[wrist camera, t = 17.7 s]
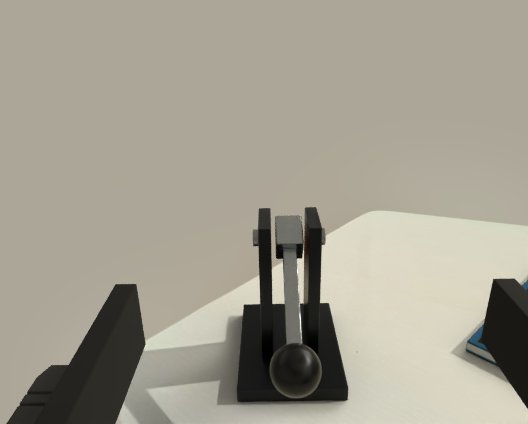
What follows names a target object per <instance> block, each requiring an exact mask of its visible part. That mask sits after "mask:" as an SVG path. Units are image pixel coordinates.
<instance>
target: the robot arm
mask: <svg viewBox="0 0 528 424" xmlns="http://www.w3.org/2000/svg"><path fill="white" fill-rule="evenodd" d="M481 341H482V343H483V344H484V346H485V347H486V349H487V350H488V351H489V353H490V354H491V356H492V357H493V359H494V360H495V362H496V363H497V365H498V366H499V368H500V369H501V370H502V372H503V373H504V375H505V376H506V378H507V379H508V381H509V382H510V384H511V385H512V387H513V388H514V389H515V391H516V392H517V394H518V395H519V397H520V398H521V400H522V401H523V403H524V404H525V406H526V407H527V408H528V292H527V291H526V290H525V289H524V288H523V287H522V286H521V285H520V284H519V283H518V282H517V281H516V280H515V279H493V283H492V288H491V293H490V298H489V302H488V307H487V312H486V317H485V321H484V326H483V331H482V335H481ZM144 347H145V338H144V331H143V325H142V318H141V312H140V305H139V299H138V292H137V286H136V284H116V285H115V287H114V288H113V290H112V292H111V293H110V295H109V297H108V299H107V300H106V302H105V304H104V305H103V307H102V309H101V310H100V312H99V314H98V316H97V317H96V319H95V321H94V322H93V324H92V326H91V328H90V329H89V331H88V333H87V335H86V336H85V338H84V340H83V341H82V343H81V345H80V346H79V348H78V350H77V352H76V353H75V355H74V357H73V358H72V360H71V362H70V364H69V365H51V366H50V367H49V368H48V369H46V370H45V371H44V372H43V373H42V374H41V375H39V376H38V377H37V378H36V380H35V381H34V383H33V384H32V386H31V387H30V389H29V390H28V392H27V395H25V396H24V398H23V399H22V401H21V403H20V406H19V407H17V409H16V410H15V412H14V413H13V415H12V416H11V418H10V419H9V421H8V422H7V424H115V423H116V421H117V418H118V415H119V413H120V410H121V408H122V405H123V402H124V400H125V397H126V394H127V392H128V389H129V386H130V384H131V381H132V378H133V376H134V373H135V371H136V368H137V365H138V363H139V360H140V357H141V355H142V352H143V349H144Z"/></svg>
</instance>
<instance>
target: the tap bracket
mask: <svg viewBox="0 0 528 424" xmlns="http://www.w3.org/2000/svg"><path fill="white" fill-rule="evenodd" d="M304 238H305V239H304V240H305V241H304V304H300V314H301V330H302V344H304V345H306V346H308V347H310V348H311V349H312V350H313V351H314V352H315V353H316V354H317V356H318V358H319V360H320V363H321V367H322V375H321V380H320V382H319V384H318V386H317V388H316V389H315V390H314V391H313V392H312V393H311V394H309V395H307V396H305V397H302V398H290V397H287V396H285V395H283V394H282V393H280V392H279V391H278V390H277V389H276V388H275V386H274V385H273V383H272V380H271V377H270V371H269V369H270V362H271V359H272V357H273V355H274V354H275V352H276V351H277V350H278V349H279V348H281V347H282V346H284V345H286V323H285V304H272V263H271V217H270V208H263V209H259V220H258V230H253V246H259V272H260V273H259V275H260V304H253V305H244V310H243V322H242V335H241V347H240V360H239V372H238V384H237V397H238V402H251V401H320V400H347V399H348V385H347V381H346V376H345V372H344V367H343V363H342V359H341V354H340V350H339V346H338V341H337V337H336V333H335V328H334V324H333V319H332V315H331V311H330V306H329V303H320V284H321V250H322V245H325V240H326V236H325V229H324V228H322V227H321V223H320V219H319V216H318V212H317V209H316V207H313V208H312V207H309V208H305V236H304Z"/></svg>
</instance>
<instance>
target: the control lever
mask: <svg viewBox="0 0 528 424" xmlns="http://www.w3.org/2000/svg"><path fill="white" fill-rule="evenodd" d="M275 234H276V235H275V236H276V258H277V259H283V273H284V298H285V323H286V345H284V346H282V347H281V348H279V349H278V350H277V351H276V352H275V354H274V355H273V357H272V359H271V362H270V369H269V371H270V377H271V380H272V383H273V385H274V386H275V388H276V389H277V390H278V391H279V392H280V393H282V394H283V395H285V396H287V397H290V398H302V397H305V396H307V395H309V394H311V393H312V392H313V391H314V390H315V389H316V388H317V386H318V384H319V382H320V380H321V375H322V367H321V363H320V360H319V358H318V356H317V354H316V353H315V352H314V351H313V350H312V349H311V348H310V347H308V346H306V345H304V344H302V330H301V314H300V298H299V282H298V266H297V258H302V254H303V230H302V216H276V217H275Z"/></svg>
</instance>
